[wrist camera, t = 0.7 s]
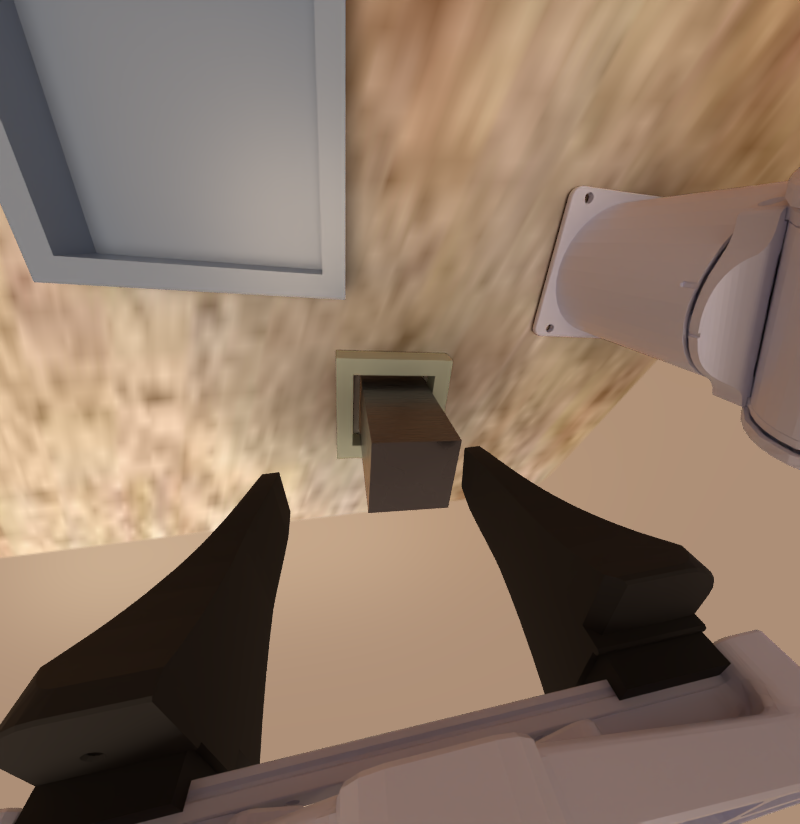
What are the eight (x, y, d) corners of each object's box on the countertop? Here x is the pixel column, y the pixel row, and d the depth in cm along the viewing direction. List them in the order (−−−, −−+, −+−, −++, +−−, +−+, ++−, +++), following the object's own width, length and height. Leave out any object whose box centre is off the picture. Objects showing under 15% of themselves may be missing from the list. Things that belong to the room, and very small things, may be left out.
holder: (445, 353, 20) (453, 360, 19) (432, 443, 24) (437, 455, 22) (335, 350, 19) (335, 358, 18) (337, 446, 22) (337, 458, 21)
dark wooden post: (420, 374, 21) (461, 440, 14) (414, 426, 23) (447, 507, 16) (359, 373, 20) (371, 443, 13) (358, 427, 22) (368, 512, 15)
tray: (343, -45, 12) (345, -141, 9) (344, 289, 18) (345, 299, 15) (-50, -147, 10) (-224, -320, 7) (93, 273, 15) (33, 282, 12)
